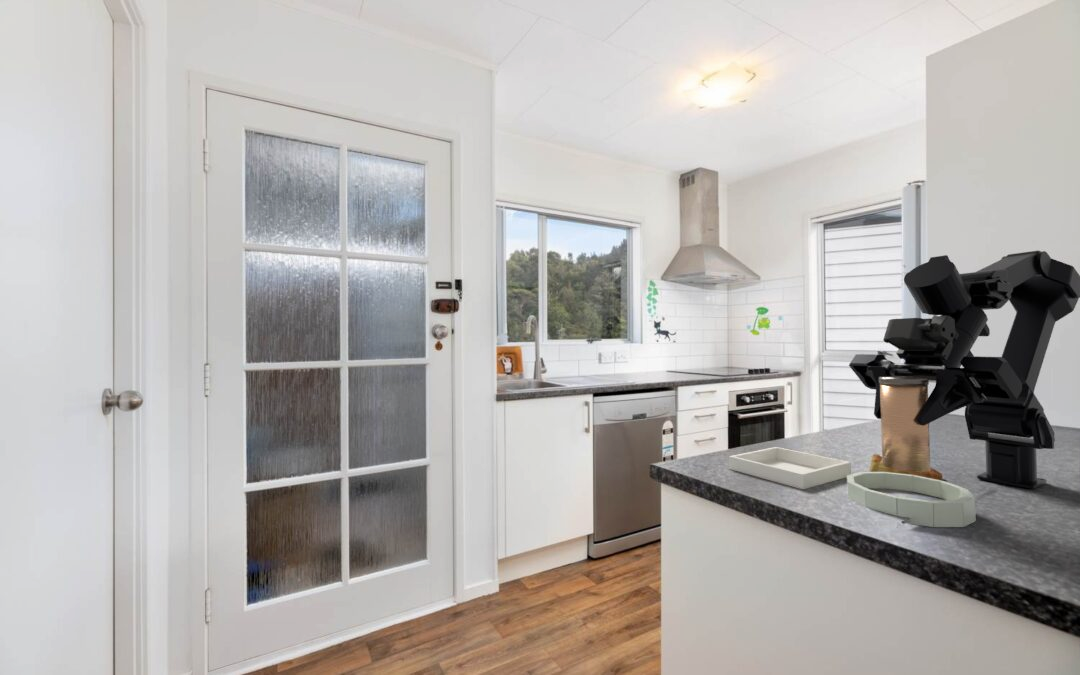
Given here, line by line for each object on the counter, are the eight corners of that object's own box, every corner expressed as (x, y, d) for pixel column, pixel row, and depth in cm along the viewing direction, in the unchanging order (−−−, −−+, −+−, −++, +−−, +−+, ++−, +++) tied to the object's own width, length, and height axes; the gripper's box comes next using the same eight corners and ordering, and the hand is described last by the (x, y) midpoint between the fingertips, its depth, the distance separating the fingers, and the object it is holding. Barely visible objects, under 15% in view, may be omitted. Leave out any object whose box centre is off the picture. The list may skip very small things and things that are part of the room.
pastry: (942, 481, 75) (942, 458, 75) (942, 492, 69) (942, 467, 70) (871, 471, 81) (871, 450, 81) (867, 481, 76) (866, 458, 76)
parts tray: (776, 462, 87) (776, 446, 87) (851, 480, 75) (850, 462, 75) (729, 473, 80) (728, 456, 80) (803, 494, 69) (802, 474, 69)
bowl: (876, 486, 72) (876, 467, 72) (991, 513, 60) (990, 490, 60) (828, 501, 66) (827, 480, 66) (945, 535, 54) (945, 510, 54)
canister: (881, 459, 67) (878, 375, 67) (929, 465, 64) (926, 376, 64) (881, 468, 62) (878, 378, 63) (933, 474, 59) (930, 379, 59)
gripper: (855, 303, 73) (805, 376, 70) (1004, 290, 56) (948, 386, 52) (891, 351, 76) (844, 423, 72) (1045, 353, 58) (993, 449, 55)
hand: (897, 419), depth 63 cm, fingers closed on canister, 5 cm apart
